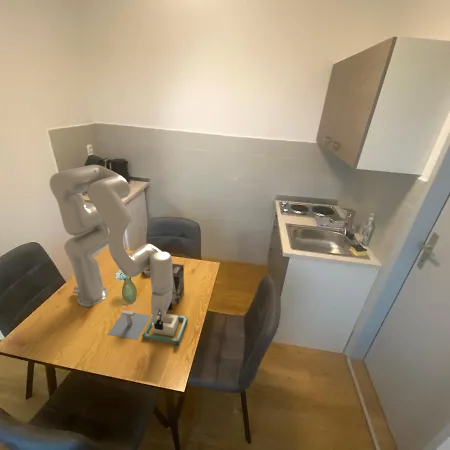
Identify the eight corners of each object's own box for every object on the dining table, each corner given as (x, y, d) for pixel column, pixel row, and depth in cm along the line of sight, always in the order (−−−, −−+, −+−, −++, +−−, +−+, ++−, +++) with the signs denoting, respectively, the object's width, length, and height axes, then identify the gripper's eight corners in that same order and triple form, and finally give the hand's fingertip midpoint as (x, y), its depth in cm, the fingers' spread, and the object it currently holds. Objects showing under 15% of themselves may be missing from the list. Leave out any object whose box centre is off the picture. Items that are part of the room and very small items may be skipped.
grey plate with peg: (108, 336, 95) (104, 321, 92) (124, 313, 106) (121, 299, 103) (137, 341, 94) (135, 327, 91) (150, 317, 105) (149, 303, 101)
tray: (142, 339, 95) (142, 335, 94) (155, 316, 105) (154, 311, 104) (178, 345, 93) (178, 341, 92) (187, 321, 104) (187, 316, 103)
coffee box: (177, 306, 111) (176, 277, 104) (164, 303, 112) (162, 274, 105) (184, 292, 119) (184, 264, 112) (172, 290, 120) (170, 262, 113)
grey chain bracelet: (158, 275, 130) (158, 268, 128) (143, 277, 128) (142, 270, 126) (157, 263, 139) (157, 257, 138) (143, 265, 137) (142, 259, 135)
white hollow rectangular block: (152, 333, 97) (151, 323, 95) (158, 321, 102) (158, 312, 100) (173, 337, 96) (172, 327, 94) (178, 324, 101) (178, 315, 99)
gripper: (161, 268, 97) (162, 301, 105) (141, 299, 82) (144, 335, 90) (179, 271, 97) (180, 304, 104) (163, 303, 81) (165, 339, 89)
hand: (163, 318), depth 97 cm, fingers open, 9 cm apart
